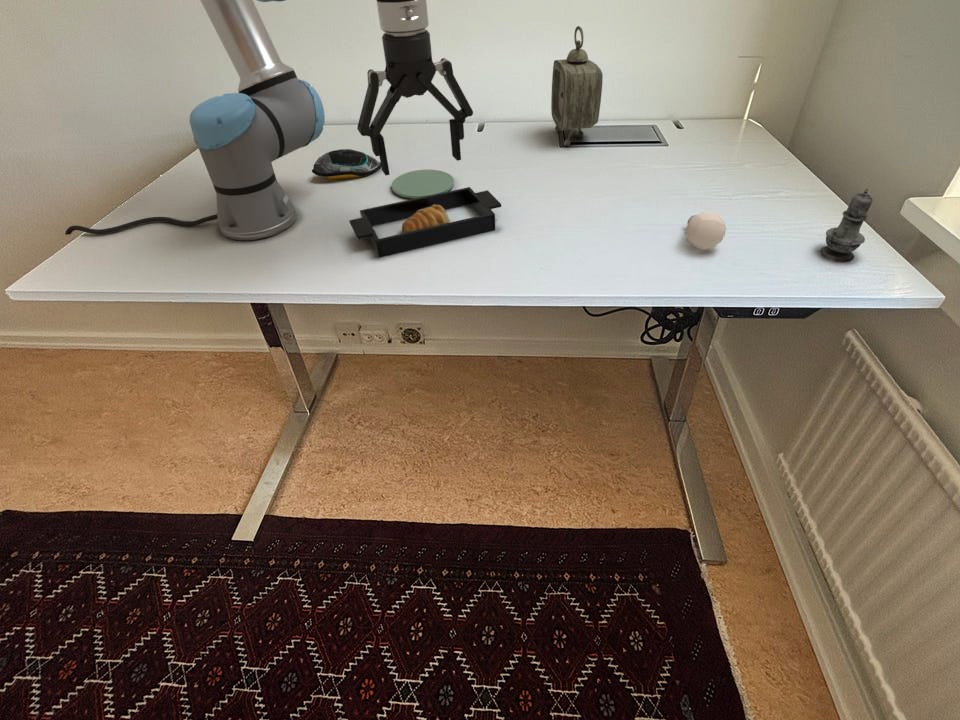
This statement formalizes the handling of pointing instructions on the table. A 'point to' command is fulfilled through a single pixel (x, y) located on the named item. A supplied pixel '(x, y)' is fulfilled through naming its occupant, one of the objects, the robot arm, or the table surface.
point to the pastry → (426, 219)
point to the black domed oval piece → (345, 164)
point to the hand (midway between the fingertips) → (421, 165)
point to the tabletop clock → (576, 91)
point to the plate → (422, 183)
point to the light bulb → (705, 230)
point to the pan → (430, 235)
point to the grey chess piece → (848, 230)
